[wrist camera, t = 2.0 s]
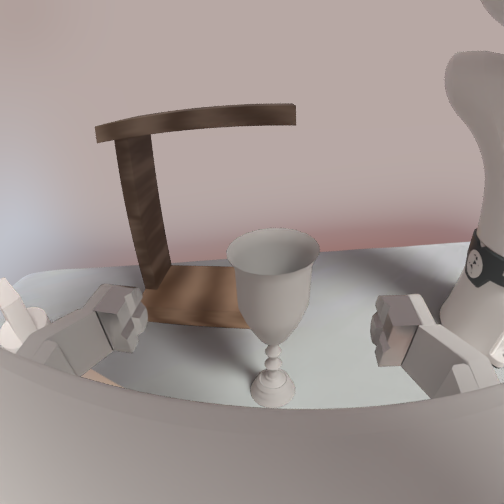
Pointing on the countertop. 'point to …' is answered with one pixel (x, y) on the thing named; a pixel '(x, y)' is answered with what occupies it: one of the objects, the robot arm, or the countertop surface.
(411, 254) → the countertop surface
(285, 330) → the chalice
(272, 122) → the wooden c-shaped stand
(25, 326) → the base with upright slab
